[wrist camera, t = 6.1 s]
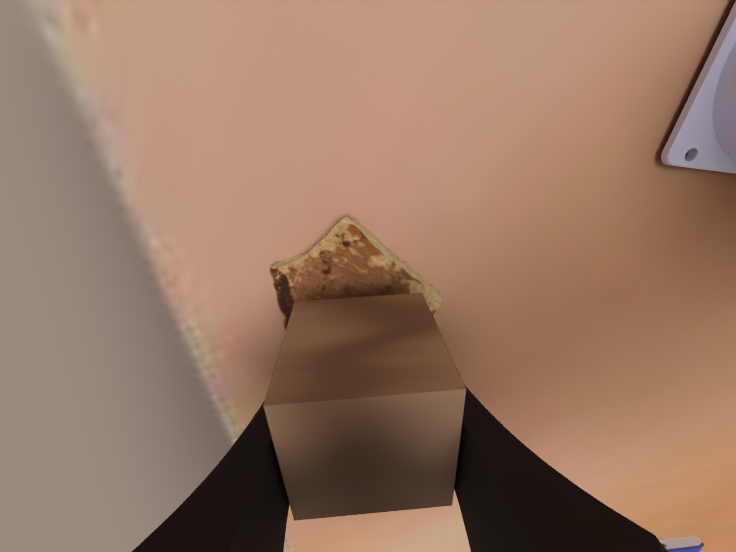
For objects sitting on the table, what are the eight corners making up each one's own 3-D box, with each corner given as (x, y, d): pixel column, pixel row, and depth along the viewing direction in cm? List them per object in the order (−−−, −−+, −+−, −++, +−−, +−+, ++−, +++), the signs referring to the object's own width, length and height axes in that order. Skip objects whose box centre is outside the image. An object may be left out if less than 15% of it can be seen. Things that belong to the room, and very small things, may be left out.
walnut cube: (422, 292, 12) (466, 389, 8) (419, 387, 14) (452, 505, 10) (294, 301, 12) (263, 405, 8) (310, 396, 14) (294, 520, 10)
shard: (314, 404, 20) (311, 430, 18) (204, 341, 17) (189, 364, 15) (442, 290, 16) (453, 308, 15) (331, 191, 14) (329, 200, 12)
